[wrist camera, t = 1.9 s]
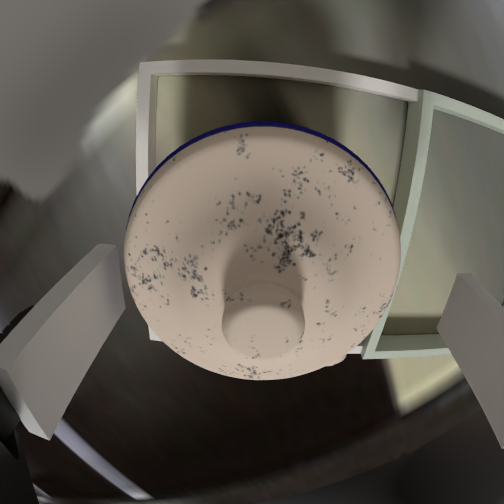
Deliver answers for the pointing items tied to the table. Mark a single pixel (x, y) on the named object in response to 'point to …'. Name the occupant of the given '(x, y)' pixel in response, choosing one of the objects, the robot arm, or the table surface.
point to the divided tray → (417, 100)
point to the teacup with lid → (262, 250)
